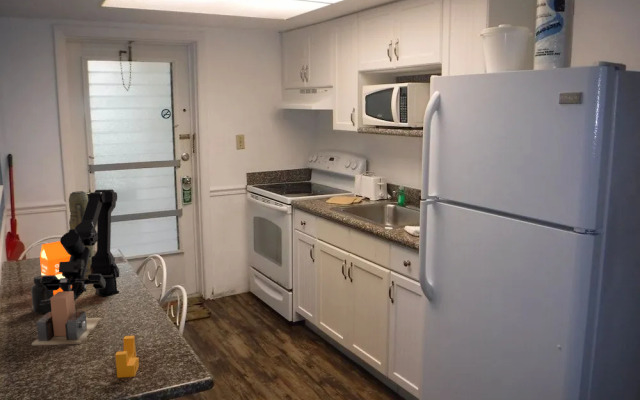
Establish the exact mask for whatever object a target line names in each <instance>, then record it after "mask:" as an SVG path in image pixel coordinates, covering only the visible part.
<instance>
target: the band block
mask: <svg viewBox="0 0 640 400" xmlns="http://www.w3.org/2000/svg"><path fill="white" fill-rule="evenodd" d="M86 315H87V314H86V310H78V311H75V314H74V315H73V316H72V317H71V318H70V319H69V320H67V323H66V324H65V328H66V339H67V340H78V339H79V337H80V336H81V335H82V334H83V333H84V332H85V331H86V330H87V323H86V318H87V316H86ZM36 329H37V338H38V340H39V341H50V340H51V339H52V338H53V337H54V329H53V320H52V311H50V312H47V313H45V314H44V315H43V316H42V317H41V318H39V320H37V321H36Z"/></svg>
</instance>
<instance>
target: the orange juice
mask: <svg viewBox="0 0 640 400" xmlns="http://www.w3.org/2000/svg"><path fill="white" fill-rule="evenodd" d="M70 256H71V255H69V254H68V253H67V252H66V250H65V249H64V247H63V246H62V244H61V243H60V240H59V241H53V242H47V243H43V244H41V250H40V255H39V261H40V263H39V264H40V273H41V275H55V276H56V277H57V278H58V279H60V278H65V277H63V276H62V273H61V272H59V262H67V261H69V260H70ZM41 275H40V276H41ZM71 288H72V286H71ZM62 291H63V290H62V289H61V288H59V289H58V290H54V295H55V294H56V293H58V292H62Z"/></svg>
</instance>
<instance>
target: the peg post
mask: <svg viewBox="0 0 640 400" xmlns="http://www.w3.org/2000/svg"><path fill="white" fill-rule="evenodd" d="M50 300H51V310H52V311H51V312H52V320H53V329H54V336H66V328H65V324H66V323H67V320H69V319H70V318H71V317H72V316H73V315H74V314H75V313H76V305H75V304H76V303H75V302H76V301H74V292H73V291H62V292H58V293H56V294H55V295H54V296H52V297H51V298H50Z"/></svg>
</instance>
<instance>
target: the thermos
mask: <svg viewBox="0 0 640 400" xmlns="http://www.w3.org/2000/svg"><path fill="white" fill-rule="evenodd" d="M87 203H88V194H87V192H85V191H73V192H71V193H70V194H69V197H68V207H69V212H70V215H69V217H70V218H69V222H68V224H69V230H70V229H75V227H76V226H77V225H78V224H80V223H81V221H82V218H83V215H84V212H85V209H86V206H87ZM86 247H88V248H89V250H90V253H91V257H89V260H88V264H87V269H88V271H87V272H86V273H85V278H88V275H89V274H91V270H90V266H91V264H92V260H91V258H92V256H94V255H95V252H94V245H93V246H86Z"/></svg>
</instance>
